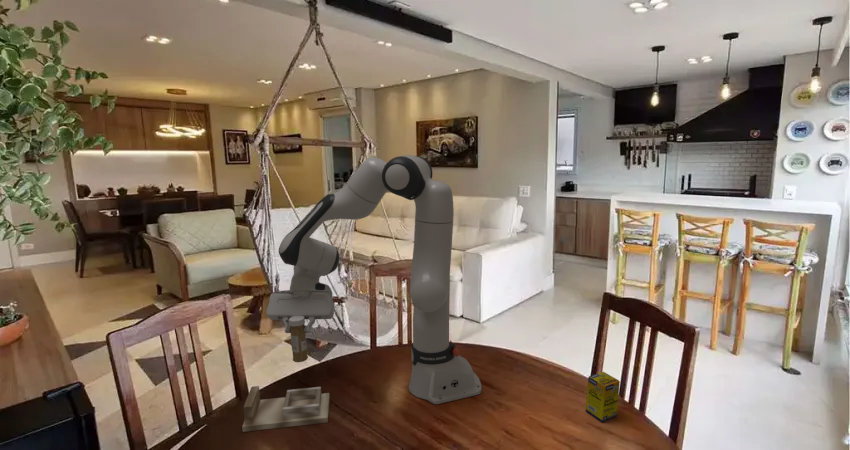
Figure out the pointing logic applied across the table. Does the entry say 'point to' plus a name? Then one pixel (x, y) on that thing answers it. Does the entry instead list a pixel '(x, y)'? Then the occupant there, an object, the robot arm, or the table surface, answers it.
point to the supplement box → (602, 396)
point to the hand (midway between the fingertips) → (297, 332)
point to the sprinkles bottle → (298, 338)
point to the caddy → (285, 409)
